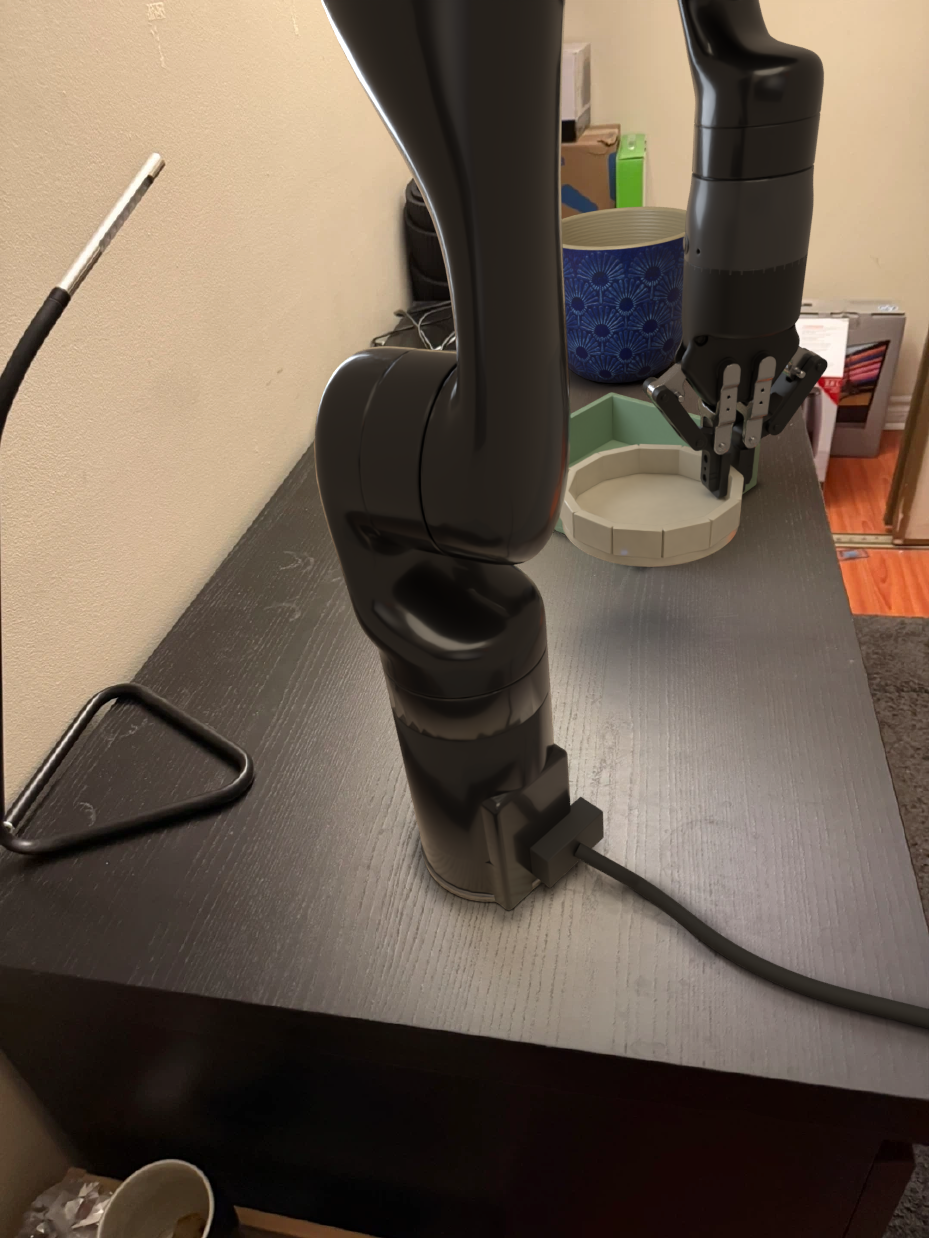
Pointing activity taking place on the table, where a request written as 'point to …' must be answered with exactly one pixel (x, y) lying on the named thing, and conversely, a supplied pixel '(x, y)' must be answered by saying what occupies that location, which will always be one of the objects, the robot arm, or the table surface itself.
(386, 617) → the robot arm
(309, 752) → the table surface
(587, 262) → the planter
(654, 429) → the tote
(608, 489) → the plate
